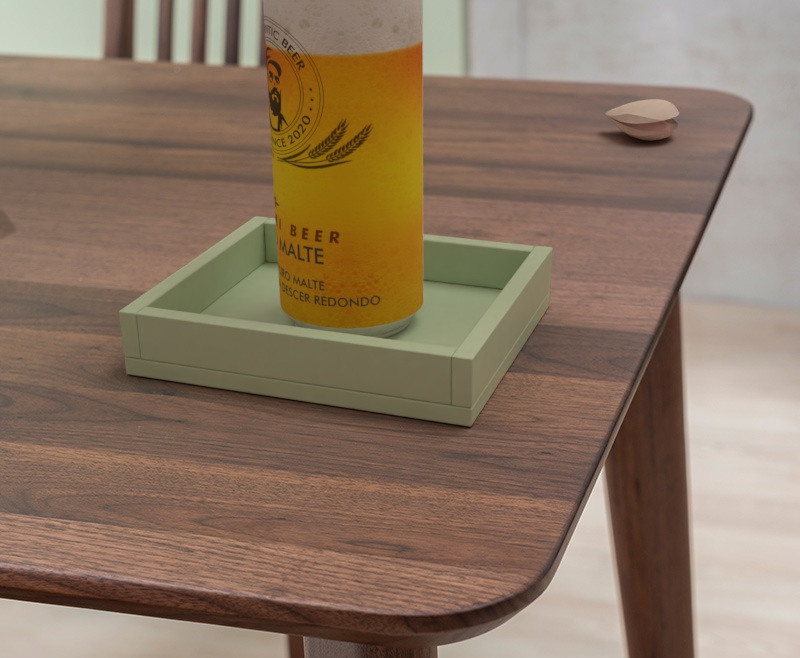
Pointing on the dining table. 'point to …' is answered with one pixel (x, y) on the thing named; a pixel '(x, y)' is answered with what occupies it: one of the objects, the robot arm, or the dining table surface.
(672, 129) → the pistachio shell
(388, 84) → the beer can
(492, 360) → the serving tray
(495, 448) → the dining table surface
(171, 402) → the dining table surface
